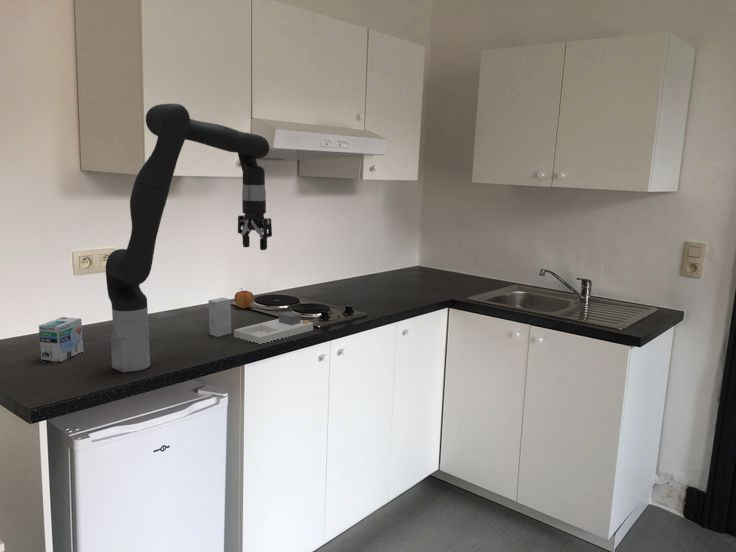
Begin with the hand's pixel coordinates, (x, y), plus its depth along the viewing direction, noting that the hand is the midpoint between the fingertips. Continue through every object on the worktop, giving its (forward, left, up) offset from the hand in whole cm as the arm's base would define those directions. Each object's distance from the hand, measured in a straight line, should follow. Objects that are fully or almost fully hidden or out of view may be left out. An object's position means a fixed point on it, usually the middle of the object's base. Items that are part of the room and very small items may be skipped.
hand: (254, 248), depth 204 cm
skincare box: (-8, +9, -30) cm, 32 cm away
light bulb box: (-54, +23, -30) cm, 66 cm away
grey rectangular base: (+5, -4, -29) cm, 30 cm away
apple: (+21, +32, -30) cm, 48 cm away
